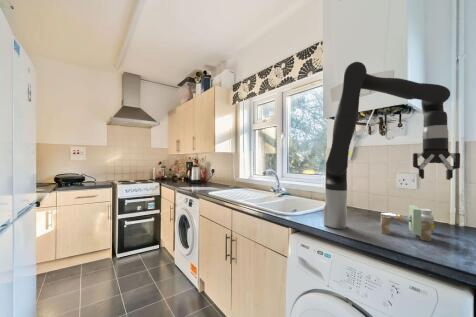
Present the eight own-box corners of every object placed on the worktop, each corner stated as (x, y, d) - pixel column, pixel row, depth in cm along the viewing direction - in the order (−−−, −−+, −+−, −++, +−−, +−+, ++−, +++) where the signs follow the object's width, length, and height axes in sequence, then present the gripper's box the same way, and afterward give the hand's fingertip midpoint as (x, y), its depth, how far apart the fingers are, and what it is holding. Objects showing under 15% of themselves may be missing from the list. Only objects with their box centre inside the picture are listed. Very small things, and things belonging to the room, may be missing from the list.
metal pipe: (381, 219, 92) (381, 213, 92) (380, 217, 95) (381, 211, 95) (429, 225, 84) (430, 218, 84) (428, 223, 86) (428, 217, 86)
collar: (413, 234, 84) (413, 209, 84) (408, 228, 92) (408, 205, 92) (421, 235, 83) (421, 210, 83) (415, 229, 91) (416, 205, 91)
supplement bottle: (417, 229, 98) (417, 207, 98) (433, 231, 94) (433, 209, 95) (417, 231, 94) (417, 209, 94) (434, 234, 90) (434, 211, 90)
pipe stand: (381, 233, 91) (381, 216, 91) (380, 229, 96) (380, 214, 96) (430, 241, 83) (431, 223, 83) (427, 236, 88) (427, 219, 88)
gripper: (414, 137, 85) (413, 178, 85) (464, 136, 78) (464, 180, 78) (410, 139, 92) (410, 177, 91) (456, 138, 84) (456, 179, 84)
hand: (435, 179), depth 85 cm, fingers open, 7 cm apart
